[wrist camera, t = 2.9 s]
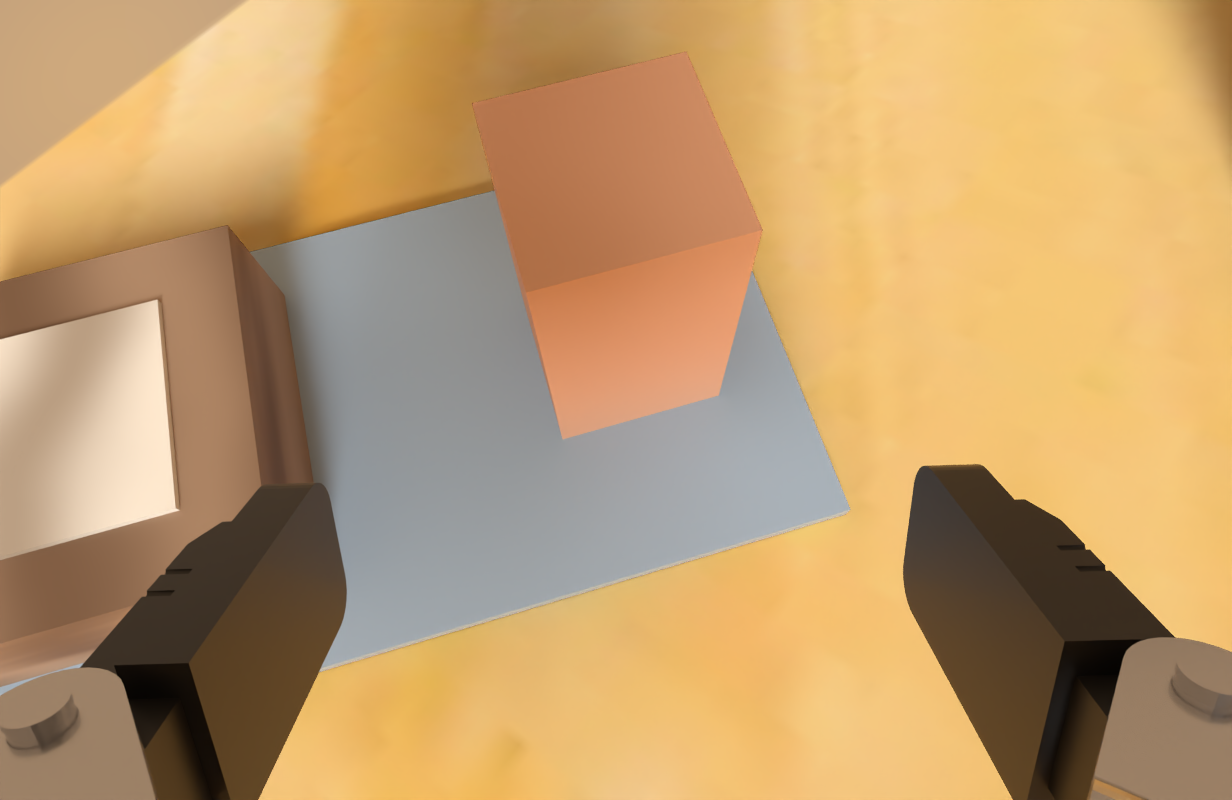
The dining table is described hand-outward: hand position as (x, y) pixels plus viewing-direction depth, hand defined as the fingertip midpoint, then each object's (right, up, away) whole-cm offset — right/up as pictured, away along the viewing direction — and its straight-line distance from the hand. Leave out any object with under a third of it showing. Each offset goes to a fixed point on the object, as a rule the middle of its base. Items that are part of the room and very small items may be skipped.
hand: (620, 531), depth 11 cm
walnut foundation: (-14, -1, +13) cm, 19 cm away
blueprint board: (-8, +1, +14) cm, 16 cm away
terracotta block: (0, +4, +14) cm, 15 cm away
